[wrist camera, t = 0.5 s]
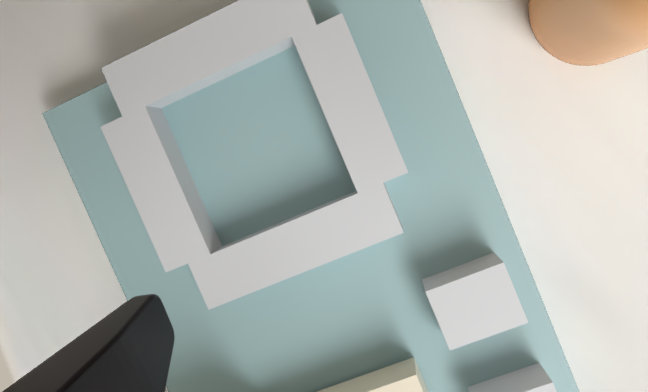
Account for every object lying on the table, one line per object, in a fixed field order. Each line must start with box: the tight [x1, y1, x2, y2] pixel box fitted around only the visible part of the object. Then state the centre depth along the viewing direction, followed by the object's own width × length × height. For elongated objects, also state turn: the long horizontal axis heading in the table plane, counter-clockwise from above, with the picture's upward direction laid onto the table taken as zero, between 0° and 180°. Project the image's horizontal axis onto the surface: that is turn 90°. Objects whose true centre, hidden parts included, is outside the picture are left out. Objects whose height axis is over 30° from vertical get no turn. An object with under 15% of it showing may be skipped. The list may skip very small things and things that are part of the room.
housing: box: [42, 0, 579, 392], centre depth 21 cm, size 20×16×3 cm
